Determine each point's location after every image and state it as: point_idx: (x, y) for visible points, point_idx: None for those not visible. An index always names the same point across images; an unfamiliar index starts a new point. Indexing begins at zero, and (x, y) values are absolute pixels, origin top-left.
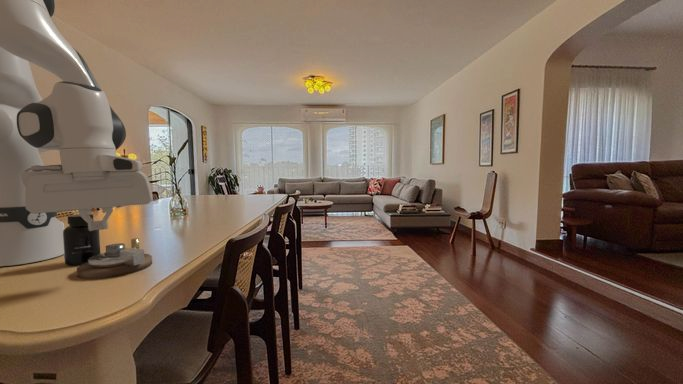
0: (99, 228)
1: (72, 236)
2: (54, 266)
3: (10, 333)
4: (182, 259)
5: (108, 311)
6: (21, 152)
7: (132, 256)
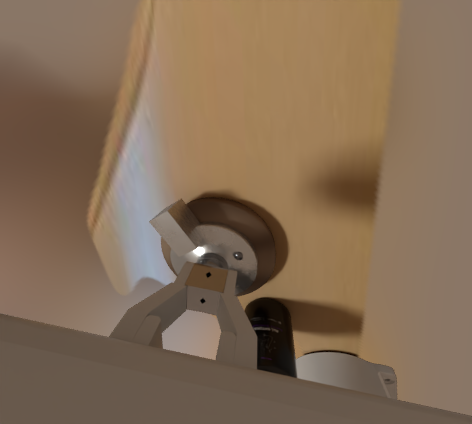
0: (205, 265)
1: (281, 360)
2: (303, 318)
3: None
4: (120, 226)
5: None
6: None
7: (174, 209)
